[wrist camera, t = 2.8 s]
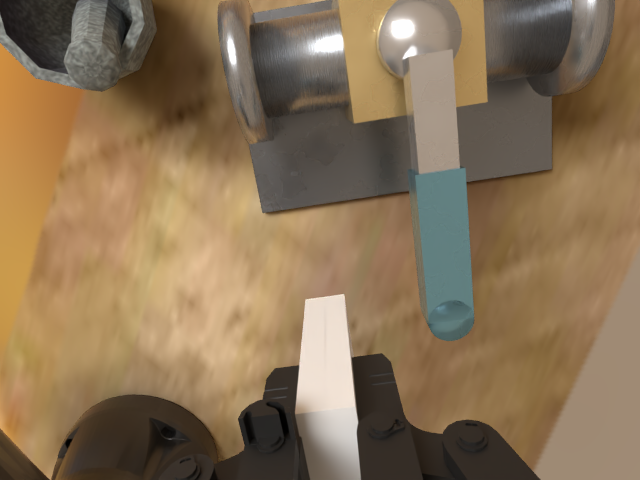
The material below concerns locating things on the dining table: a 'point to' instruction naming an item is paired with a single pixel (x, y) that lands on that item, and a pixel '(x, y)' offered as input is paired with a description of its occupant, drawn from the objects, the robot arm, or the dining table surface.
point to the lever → (433, 157)
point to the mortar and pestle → (78, 39)
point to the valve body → (397, 91)
